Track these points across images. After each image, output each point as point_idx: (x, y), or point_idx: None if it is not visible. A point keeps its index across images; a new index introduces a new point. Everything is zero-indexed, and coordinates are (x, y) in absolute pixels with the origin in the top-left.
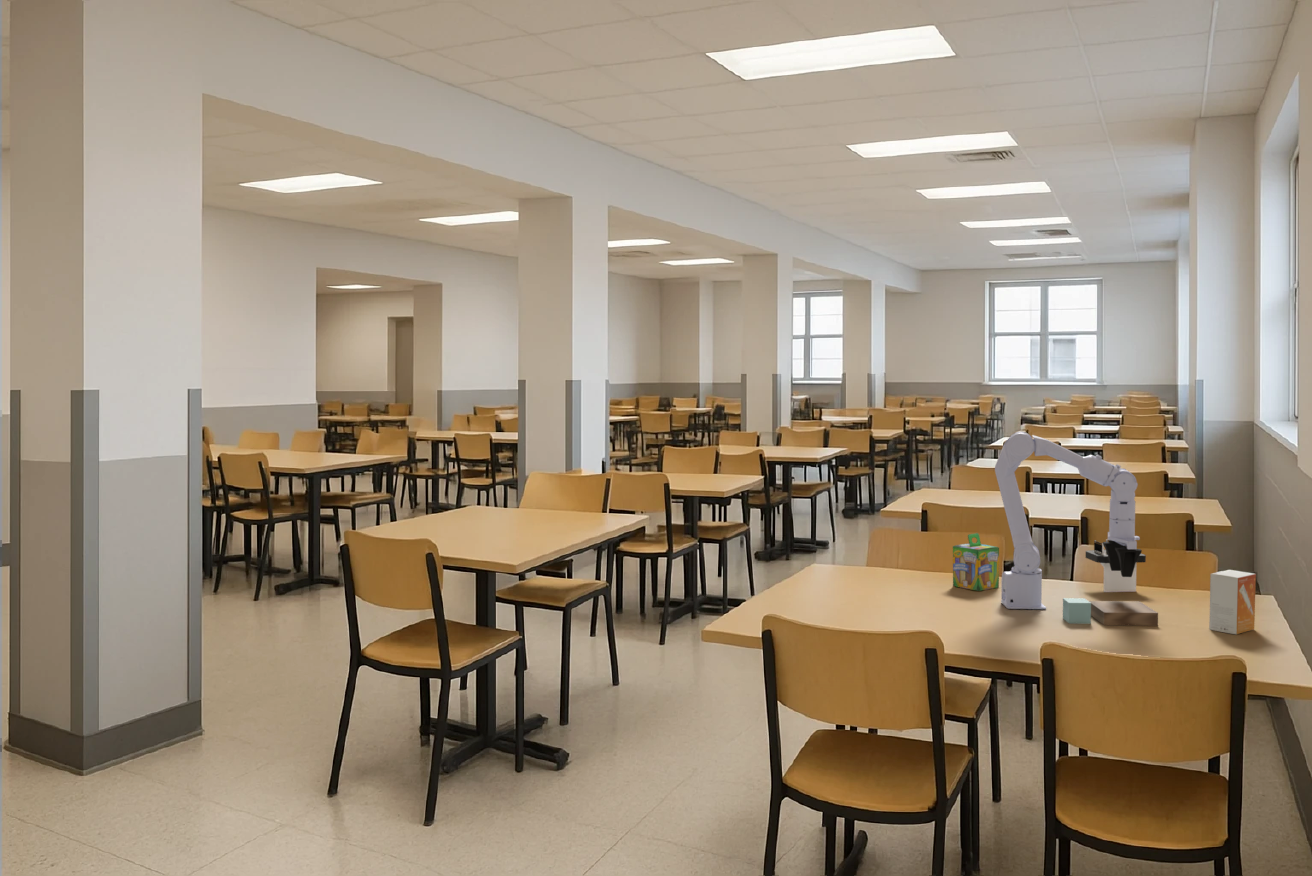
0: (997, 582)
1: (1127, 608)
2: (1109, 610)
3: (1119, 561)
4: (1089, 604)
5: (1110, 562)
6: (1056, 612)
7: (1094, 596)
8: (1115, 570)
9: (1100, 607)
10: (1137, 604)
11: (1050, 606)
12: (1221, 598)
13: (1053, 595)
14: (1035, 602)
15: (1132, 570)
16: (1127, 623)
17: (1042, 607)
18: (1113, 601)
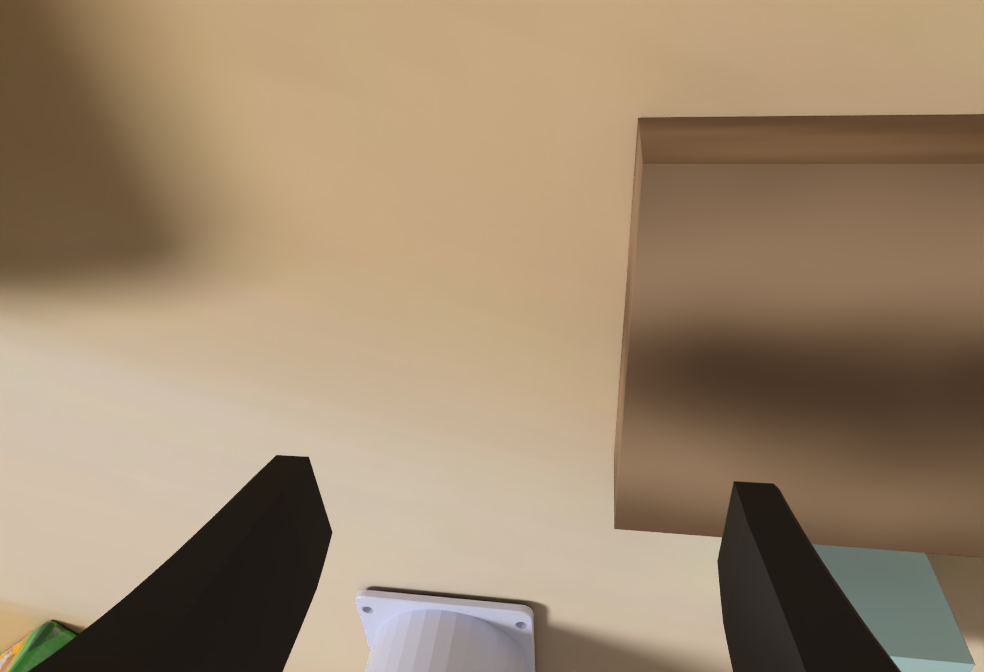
0: (43, 651)
1: (953, 377)
2: (979, 513)
3: (246, 583)
4: (964, 658)
5: (290, 647)
6: (590, 582)
7: (33, 266)
8: (321, 507)
9: (854, 531)
10: (794, 236)
11: (437, 564)
12: None
13: (124, 476)
14: (515, 668)
15: (818, 570)
16: None
17: (530, 626)
18: (635, 388)
